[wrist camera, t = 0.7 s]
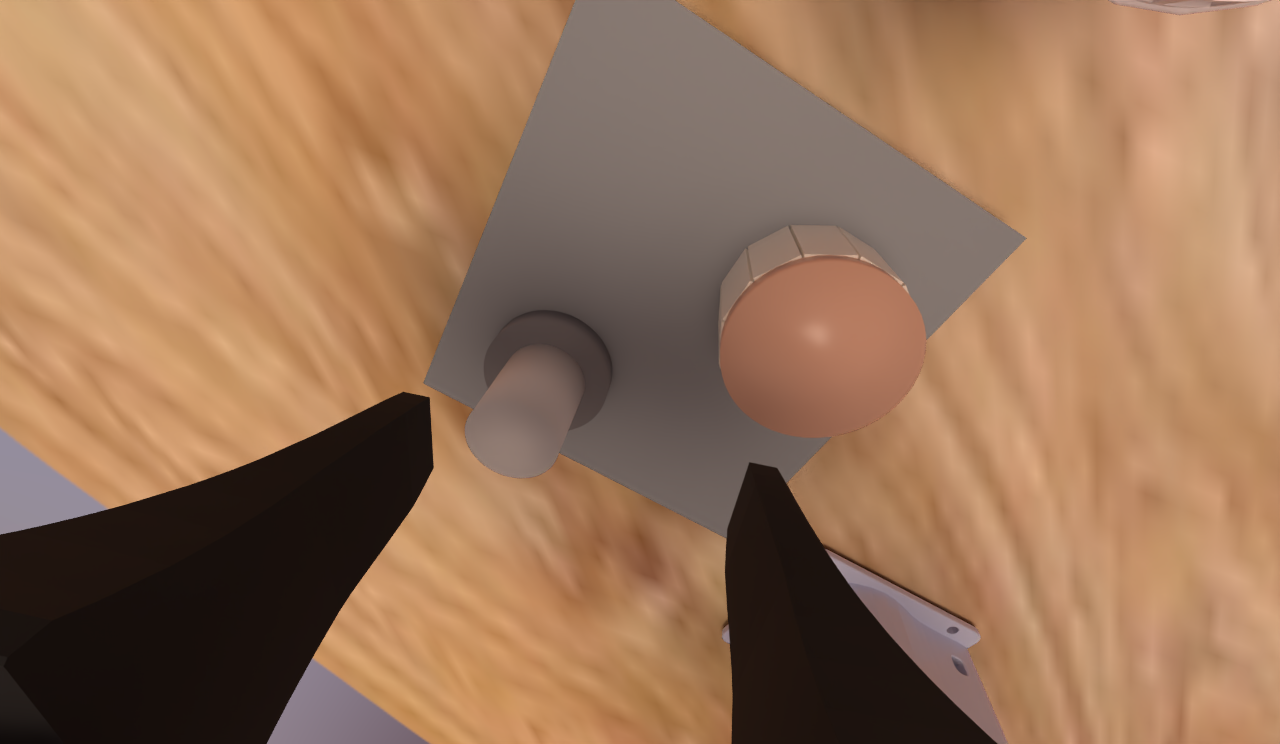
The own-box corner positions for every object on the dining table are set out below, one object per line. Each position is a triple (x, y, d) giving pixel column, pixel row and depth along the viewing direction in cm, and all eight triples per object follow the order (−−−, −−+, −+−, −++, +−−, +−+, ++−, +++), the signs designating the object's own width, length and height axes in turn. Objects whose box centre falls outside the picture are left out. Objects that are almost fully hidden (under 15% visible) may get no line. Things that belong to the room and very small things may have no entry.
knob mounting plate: (1002, 225, 17) (1132, 295, 11) (729, 514, 24) (732, 638, 19) (607, -42, 14) (545, -104, 9) (440, 364, 22) (354, 457, 17)
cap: (925, 281, 16) (973, 330, 13) (815, 401, 19) (834, 466, 16) (784, 191, 15) (800, 221, 12) (689, 329, 18) (684, 381, 15)
